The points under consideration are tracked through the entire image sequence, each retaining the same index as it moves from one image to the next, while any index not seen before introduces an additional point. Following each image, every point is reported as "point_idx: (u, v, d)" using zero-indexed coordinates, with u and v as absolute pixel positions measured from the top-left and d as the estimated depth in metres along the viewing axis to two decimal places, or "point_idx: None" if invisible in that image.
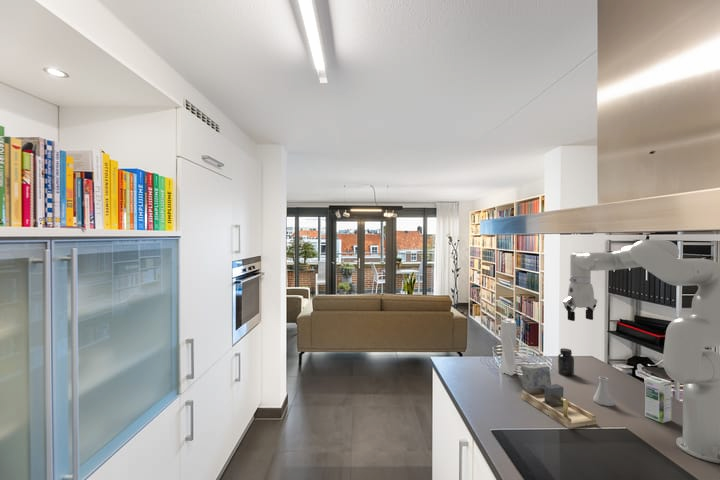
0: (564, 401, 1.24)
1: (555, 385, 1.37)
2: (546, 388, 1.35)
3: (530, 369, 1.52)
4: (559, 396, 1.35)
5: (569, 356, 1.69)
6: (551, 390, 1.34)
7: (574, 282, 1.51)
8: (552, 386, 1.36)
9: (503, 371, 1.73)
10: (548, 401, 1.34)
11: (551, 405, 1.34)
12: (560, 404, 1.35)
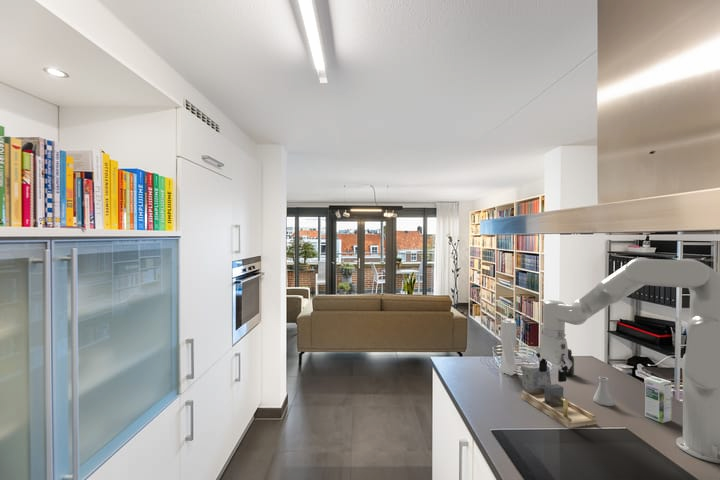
0: (564, 401, 1.24)
1: (555, 385, 1.37)
2: (546, 388, 1.35)
3: (530, 369, 1.52)
4: (559, 396, 1.35)
5: (569, 356, 1.69)
6: (551, 390, 1.34)
7: (562, 337, 1.32)
8: (552, 386, 1.36)
9: (503, 371, 1.73)
10: (548, 401, 1.34)
11: (551, 405, 1.34)
12: (560, 404, 1.35)
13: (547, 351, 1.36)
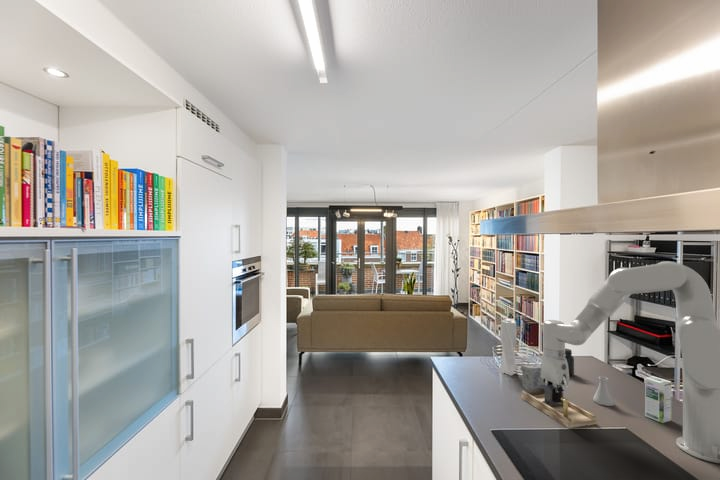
0: (564, 401, 1.24)
1: None
2: (546, 388, 1.35)
3: (530, 369, 1.52)
4: None
5: (569, 356, 1.69)
6: (551, 390, 1.34)
7: (562, 357, 1.32)
8: (552, 386, 1.36)
9: (503, 371, 1.73)
10: (548, 401, 1.34)
11: (551, 405, 1.34)
12: (560, 404, 1.35)
13: (548, 371, 1.35)
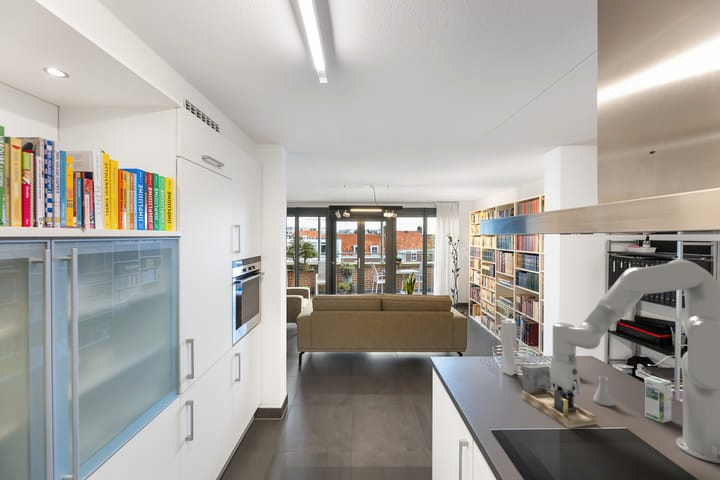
0: (564, 401, 1.24)
1: None
2: (556, 393, 1.31)
3: (530, 369, 1.52)
4: None
5: None
6: (561, 396, 1.29)
7: (573, 361, 1.28)
8: (562, 391, 1.31)
9: (503, 371, 1.73)
10: (558, 407, 1.30)
11: (561, 411, 1.29)
12: (570, 410, 1.30)
13: (558, 376, 1.31)
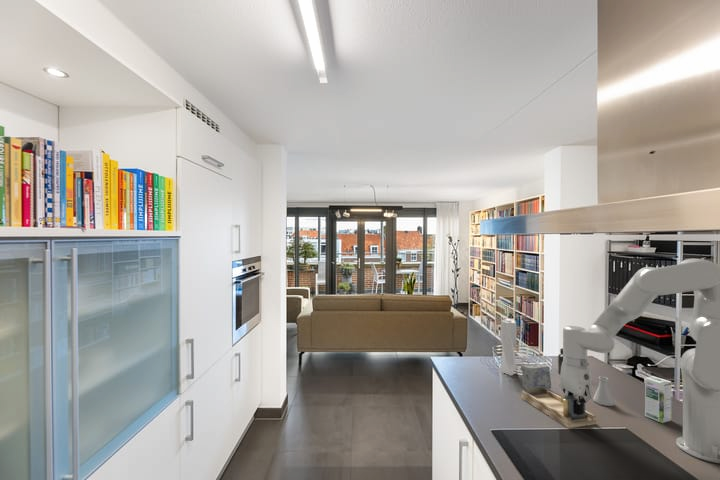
0: (564, 401, 1.24)
1: None
2: None
3: (530, 369, 1.52)
4: None
5: None
6: (573, 402, 1.24)
7: (585, 366, 1.23)
8: (573, 397, 1.26)
9: (503, 371, 1.73)
10: (569, 413, 1.25)
11: (572, 418, 1.24)
12: (582, 416, 1.25)
13: (569, 381, 1.26)
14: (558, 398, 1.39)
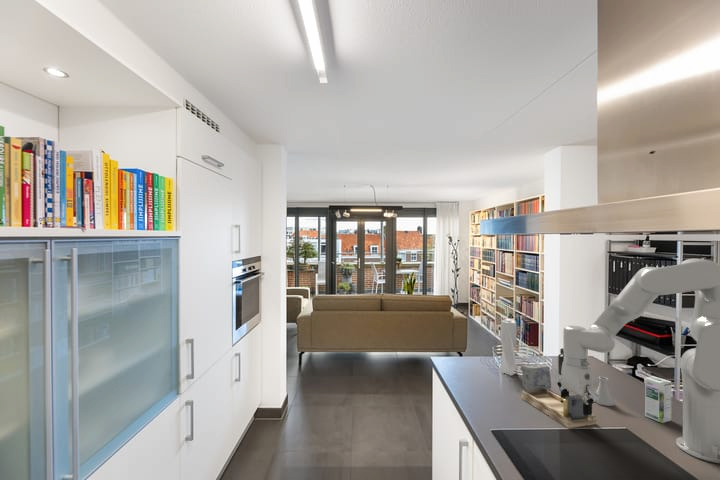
0: (564, 401, 1.24)
1: (576, 396, 1.27)
2: (567, 399, 1.26)
3: (530, 369, 1.52)
4: (581, 408, 1.25)
5: None
6: (573, 402, 1.24)
7: (585, 366, 1.23)
8: (573, 397, 1.26)
9: (503, 371, 1.73)
10: (569, 413, 1.25)
11: (573, 418, 1.24)
12: (582, 417, 1.25)
13: (569, 381, 1.26)
14: (558, 398, 1.39)
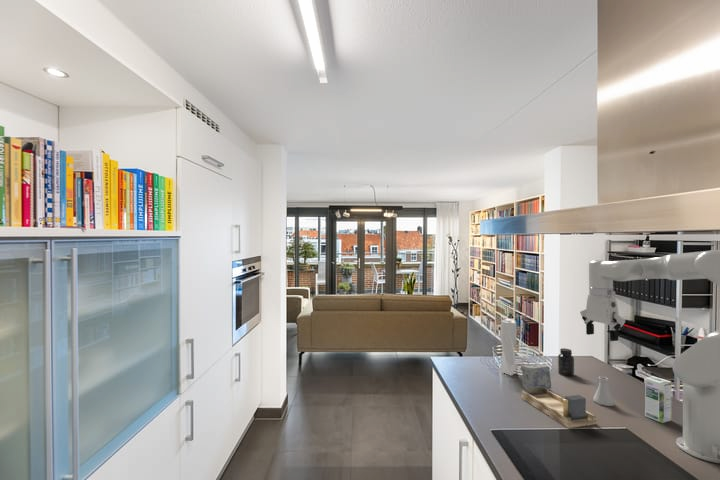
0: (564, 401, 1.24)
1: (576, 396, 1.27)
2: (567, 399, 1.26)
3: (530, 369, 1.52)
4: (581, 408, 1.25)
5: (569, 356, 1.69)
6: (573, 402, 1.24)
7: (611, 295, 1.30)
8: (573, 397, 1.26)
9: (503, 371, 1.73)
10: (569, 413, 1.25)
11: (573, 418, 1.24)
12: (582, 417, 1.25)
13: (596, 311, 1.32)
14: (558, 398, 1.39)
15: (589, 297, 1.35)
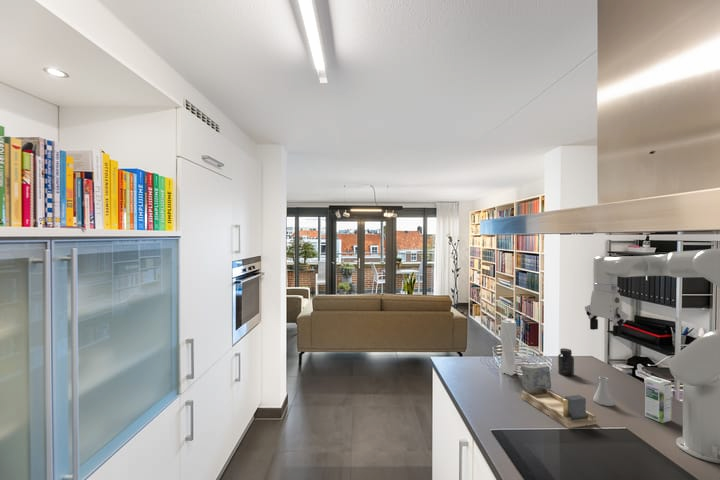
0: (564, 401, 1.24)
1: (576, 396, 1.27)
2: (567, 399, 1.26)
3: (530, 369, 1.52)
4: (581, 408, 1.25)
5: (569, 356, 1.69)
6: (573, 402, 1.24)
7: (615, 291, 1.31)
8: (573, 397, 1.26)
9: (503, 371, 1.73)
10: (569, 413, 1.25)
11: (573, 418, 1.24)
12: (582, 417, 1.25)
13: (599, 307, 1.34)
14: (558, 398, 1.39)
15: (593, 292, 1.37)
